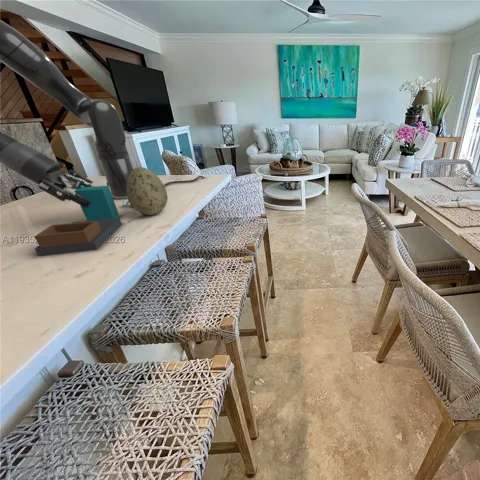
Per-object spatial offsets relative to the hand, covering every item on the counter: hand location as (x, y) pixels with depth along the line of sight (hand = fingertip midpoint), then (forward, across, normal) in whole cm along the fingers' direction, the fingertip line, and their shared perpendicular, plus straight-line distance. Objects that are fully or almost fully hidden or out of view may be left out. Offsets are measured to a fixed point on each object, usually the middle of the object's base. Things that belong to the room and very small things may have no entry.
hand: (96, 200), depth 79 cm
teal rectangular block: (+4, 0, +4) cm, 6 cm away
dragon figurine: (+8, +12, +1) cm, 15 cm away
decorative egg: (+14, +2, -5) cm, 15 cm away
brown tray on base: (+5, -13, +4) cm, 15 cm away
